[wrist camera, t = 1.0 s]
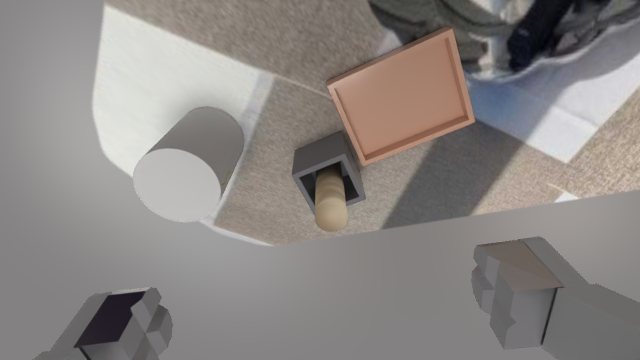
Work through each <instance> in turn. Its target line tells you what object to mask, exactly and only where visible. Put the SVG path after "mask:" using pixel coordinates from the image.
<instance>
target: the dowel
mask: <svg viewBox="0 0 640 360" xmlns="http://www.w3.org/2000/svg"><path fill="white" fill-rule="evenodd" d="M347 220H348V216H347V208H346V200H345V192H344V184H343V177H342V169H341V161H338V162H336V163H333V164H331V165H328V166H326V167H324V168H321V169H319V170H316V190H315V221H316V224H317V225H318V227H320V228H321V229H322V230H325V231H330V232H332V231H337V230H340V229H342V228H343V227H344V226H345V225H346V223H347Z"/></svg>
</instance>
